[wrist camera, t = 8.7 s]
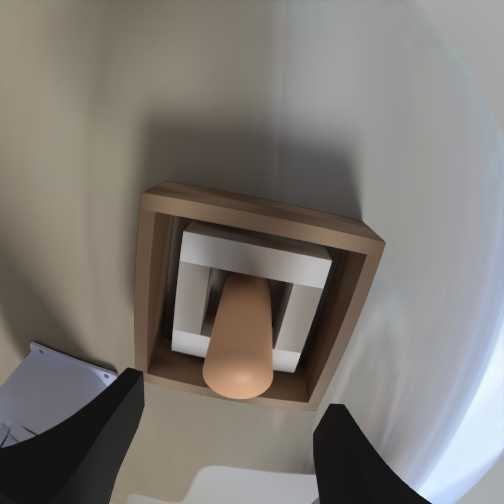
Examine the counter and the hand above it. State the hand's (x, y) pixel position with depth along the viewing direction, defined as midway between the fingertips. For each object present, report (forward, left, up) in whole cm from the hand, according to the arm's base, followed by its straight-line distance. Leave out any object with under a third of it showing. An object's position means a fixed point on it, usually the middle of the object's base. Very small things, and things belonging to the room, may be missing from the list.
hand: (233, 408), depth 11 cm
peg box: (0, 0, -10) cm, 10 cm away
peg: (0, 0, -10) cm, 10 cm away
